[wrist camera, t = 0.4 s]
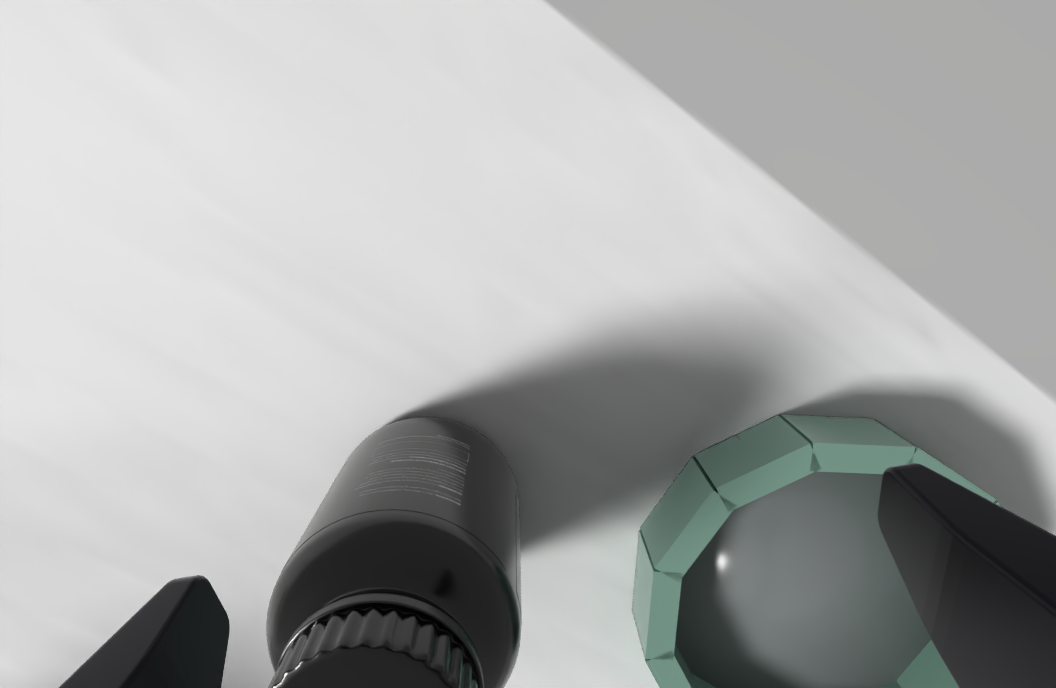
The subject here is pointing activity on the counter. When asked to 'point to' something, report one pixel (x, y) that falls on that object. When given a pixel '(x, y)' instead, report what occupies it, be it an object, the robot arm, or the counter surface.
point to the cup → (783, 565)
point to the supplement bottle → (405, 568)
